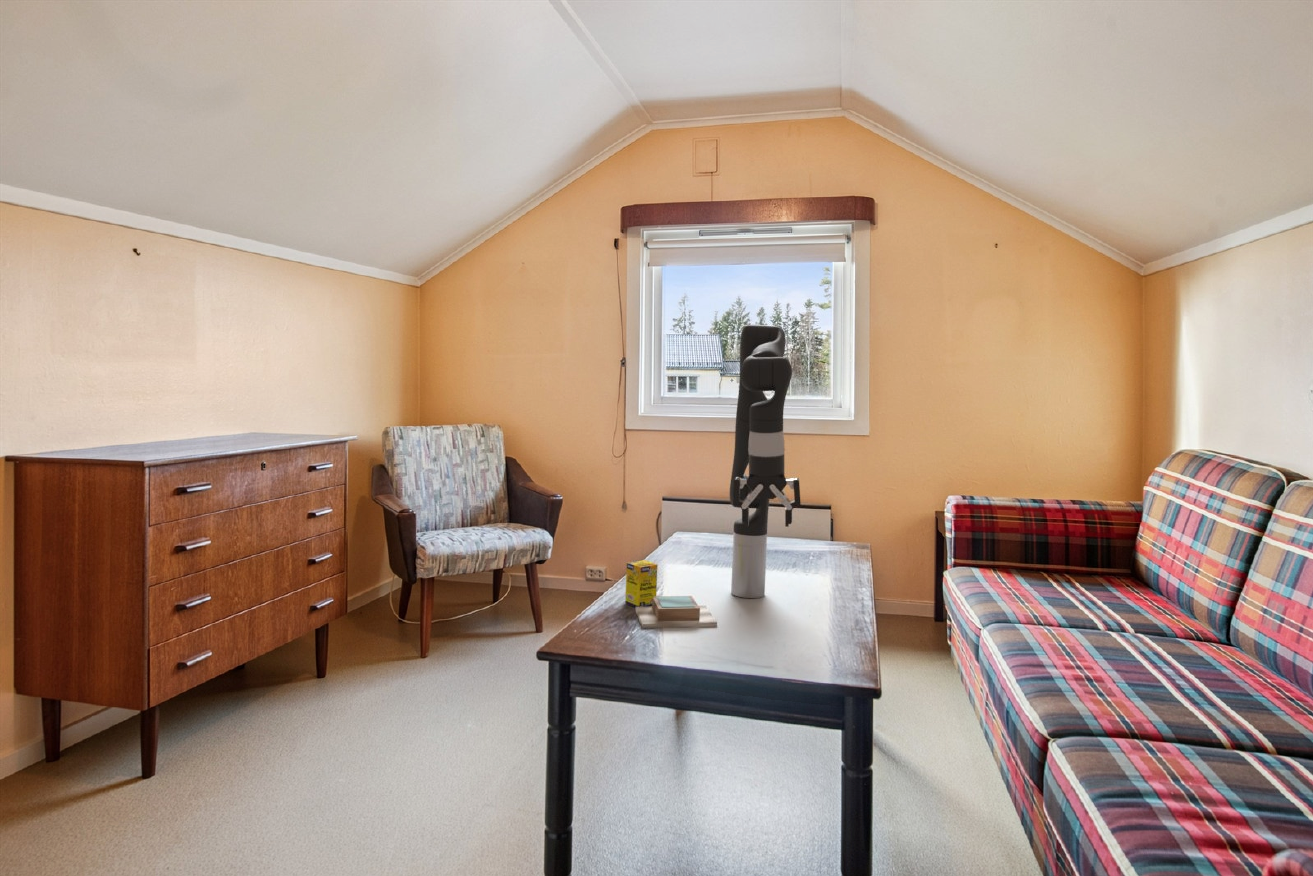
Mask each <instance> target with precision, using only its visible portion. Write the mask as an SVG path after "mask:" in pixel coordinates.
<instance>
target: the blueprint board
mask: <svg viewBox="0 0 1313 876" xmlns="http://www.w3.org/2000/svg"><path fill="white" fill-rule="evenodd" d="M635 613H636V616H637V617H638V620H639V623H640V626H641V628H642V629H652V628H653V629H655V628H656V629H657V628H659V629H661V628H662V629H663V628H701V627H702V628H704V627H707V628H708V627H710V628H711V627H713V628H714V627H718V621H717V620H716V619H715V617H714V616H713V614H712V612H710V610H709V609H708V607H707V606H706V605H698V603H697V602H696V601H695V599H694V598H693V595H677V596H676V595H674V596H673V595H671V596H669V595H667V596H662V595H661V596H656V597H652V606H649V607H636V608H635Z"/></svg>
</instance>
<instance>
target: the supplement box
mask: <svg viewBox="0 0 1313 876" xmlns="http://www.w3.org/2000/svg"><path fill="white" fill-rule="evenodd" d="M625 573H626V575H625V577H626V578H625V599H624V600H625V604H626V605H628V606H631V607H633V608H635V609H636V607H649V606H652V597H657V589H658V587H657V586H658V564H657V563H655V562H651V561H649V560H645V559H642V560H638V561H631V562H629V561H628V562H626V572H625Z"/></svg>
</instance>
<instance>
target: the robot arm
mask: <svg viewBox="0 0 1313 876" xmlns="http://www.w3.org/2000/svg"><path fill="white" fill-rule="evenodd" d="M739 344H740V345H739V381H738V383H739V384H738V386H739V387H738V396H737V405H736V414H735V416H736V417H735V426H734V428H735V429H734V430H735V431H734V432H735V433H734V452H733V453H734V455H733V461H732V462H733V463H732V469H731V470H732V471H731V478H730V484H729V501H730V505H732V507H734V508H738V509H741V518H740V519H737V520H735V522H734V523H733V534H732V535H733V539H732V540H733V541H732V562H731V563H732V566H731V570H732V571H731V584H730V585H731V587H730V588H731V590H730V592H731V593H730V594H732V595H733V596H735V597H739V598H744V599H757V598H758V599H759V598H762V597H764V596H765V592H766V591H765V590H766V570H767V566H766V565H767V546H768V545H767V544H768V543H767V542H768V541H767V540H768V537H767V536H768V521H769V518H768V517H769V507H770V500H774V499H776V498H777V499H778V500H779V502H780V503H781V504H782V505H783V506H784V507H785V510H784V511H785V512H784V514H785V515H784V517H785V522H784V523H785V527H788V528H789V527H790V526H789V525H791V524H792V523H793V510H794V509H795V508H800V507H801V489H800V487H801V486H800V478H799V477H797V476H796V477H794V478H786V476H785V451H786V448H785V436H784V409H785V408H784V407H785V402H786V399H787V398H786V397H787V394H788V390H789V387H790V384H791V380H792V375H793V367H792V365H791V363H790V361H789V360H788V359H787V358H786V357H784V355H785V351H786V334H785V331H784V328H782V327H780V326H776V325H768V324H767V325H764V324H746V325H744V326H743V327H742V330H741V335H740V343H739ZM764 392H774V394H773V396H772V397H770V398H769V399H768V397H767V396H766V395H765V393H764ZM747 467H748V474H745V472H746V470H747ZM787 485H788V486H789V488H790V490H793V497H794V498H793V499H794V500H790V499H789V498H788V496H787V495H786V493H785V492H784V491H783V490H784V489H785V488H786V486H787ZM750 509H755V511H754V512H753V513H751V514H750Z"/></svg>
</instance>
